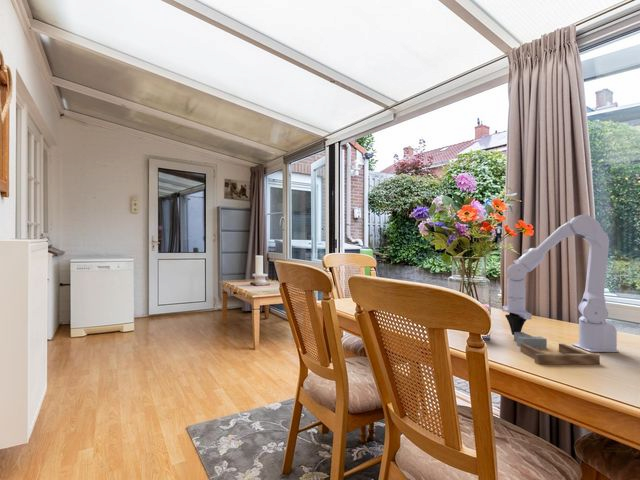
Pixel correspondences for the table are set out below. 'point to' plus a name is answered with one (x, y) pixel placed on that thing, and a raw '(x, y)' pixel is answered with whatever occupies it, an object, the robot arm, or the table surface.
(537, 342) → the t block
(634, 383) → the table surface
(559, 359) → the walnut bay
